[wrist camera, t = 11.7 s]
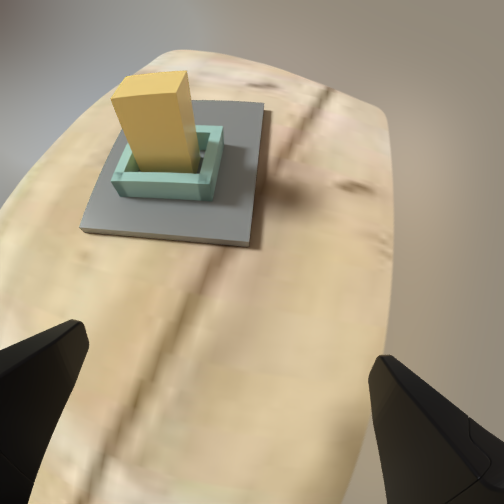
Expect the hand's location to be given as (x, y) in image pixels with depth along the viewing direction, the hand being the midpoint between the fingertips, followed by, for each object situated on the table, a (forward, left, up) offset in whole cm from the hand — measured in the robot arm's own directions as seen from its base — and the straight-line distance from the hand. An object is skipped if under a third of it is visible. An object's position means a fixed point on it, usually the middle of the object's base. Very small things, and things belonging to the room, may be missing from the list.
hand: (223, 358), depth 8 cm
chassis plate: (+19, +8, -14) cm, 24 cm away
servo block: (+17, +8, -13) cm, 22 cm away
